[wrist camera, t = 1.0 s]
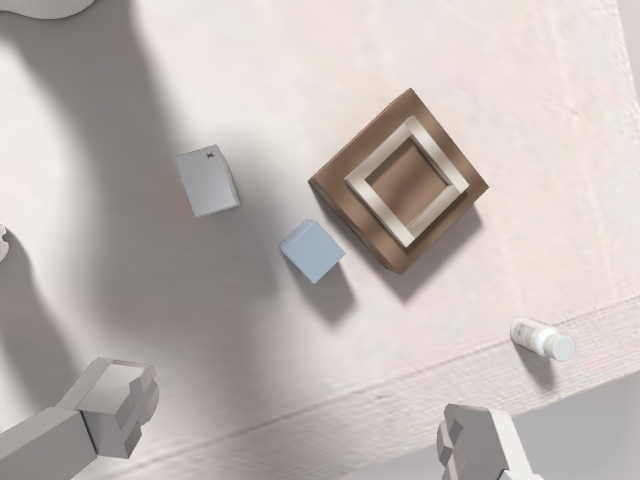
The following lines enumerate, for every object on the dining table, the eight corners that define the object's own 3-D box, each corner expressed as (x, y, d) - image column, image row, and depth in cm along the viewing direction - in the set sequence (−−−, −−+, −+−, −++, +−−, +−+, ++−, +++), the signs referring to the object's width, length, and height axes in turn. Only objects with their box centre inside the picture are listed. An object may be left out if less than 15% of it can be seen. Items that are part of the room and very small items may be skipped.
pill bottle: (513, 349, 56) (554, 370, 48) (505, 322, 55) (546, 340, 48) (537, 338, 57) (582, 357, 49) (531, 311, 56) (575, 327, 48)
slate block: (278, 245, 48) (283, 252, 41) (306, 219, 49) (316, 221, 41) (304, 273, 49) (314, 284, 42) (331, 246, 50) (345, 253, 42)
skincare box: (191, 169, 46) (171, 155, 34) (225, 159, 46) (217, 142, 34) (208, 216, 46) (194, 219, 35) (241, 206, 47) (238, 205, 35)
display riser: (307, 181, 48) (316, 177, 42) (394, 99, 49) (415, 84, 43) (386, 268, 51) (404, 276, 45) (466, 189, 52) (495, 186, 46)
